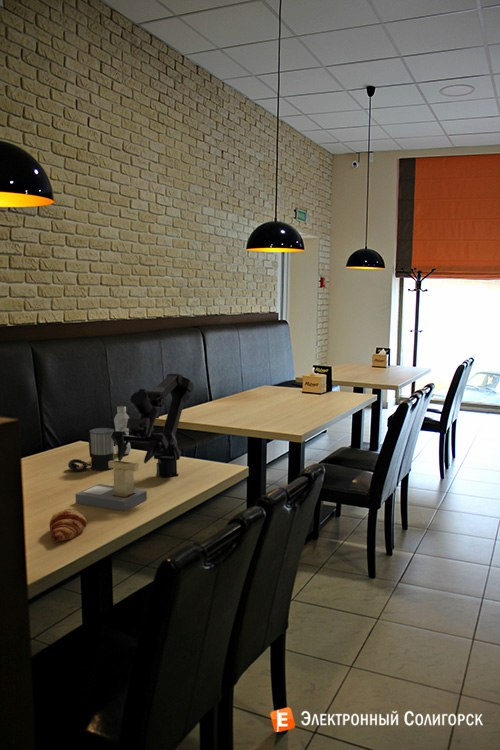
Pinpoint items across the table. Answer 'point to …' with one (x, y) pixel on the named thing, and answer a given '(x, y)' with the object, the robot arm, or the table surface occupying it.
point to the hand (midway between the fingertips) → (131, 461)
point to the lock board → (109, 498)
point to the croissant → (67, 524)
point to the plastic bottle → (122, 425)
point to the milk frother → (97, 451)
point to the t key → (123, 478)
